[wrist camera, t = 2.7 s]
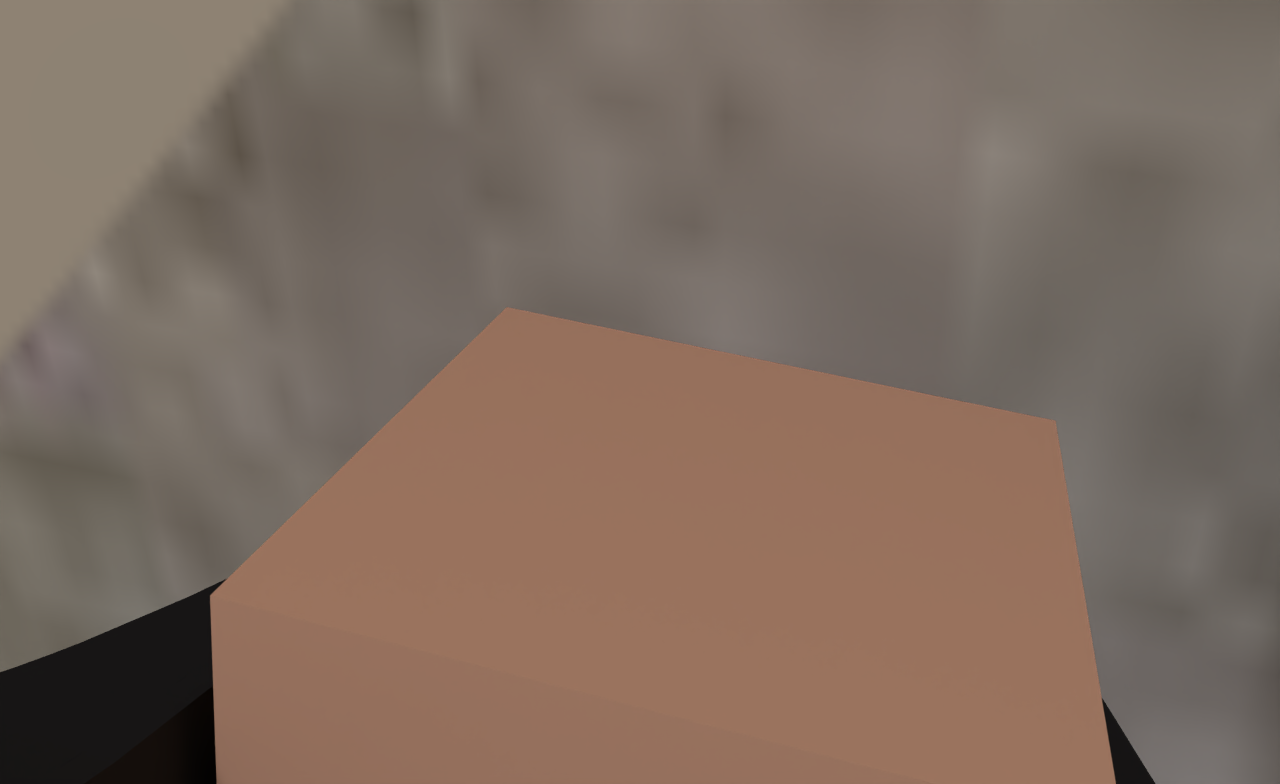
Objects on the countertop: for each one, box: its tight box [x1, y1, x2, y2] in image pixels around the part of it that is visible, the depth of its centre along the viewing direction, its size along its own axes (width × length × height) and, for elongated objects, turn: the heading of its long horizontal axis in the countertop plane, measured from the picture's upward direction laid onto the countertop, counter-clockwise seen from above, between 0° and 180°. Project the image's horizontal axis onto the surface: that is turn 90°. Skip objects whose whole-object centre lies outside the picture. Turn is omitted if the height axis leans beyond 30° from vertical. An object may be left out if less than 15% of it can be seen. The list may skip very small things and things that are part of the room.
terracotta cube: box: [210, 307, 1116, 784], centre depth 10 cm, size 5×5×5 cm
